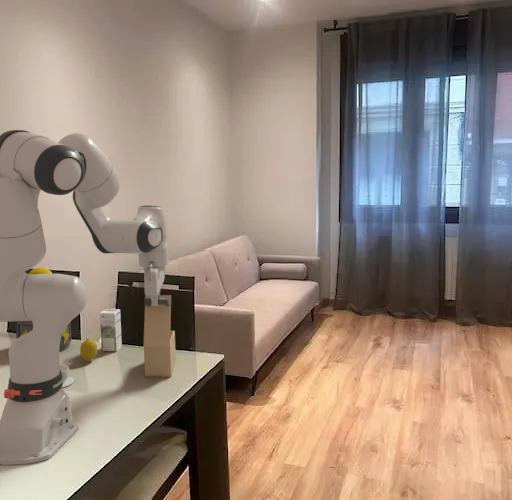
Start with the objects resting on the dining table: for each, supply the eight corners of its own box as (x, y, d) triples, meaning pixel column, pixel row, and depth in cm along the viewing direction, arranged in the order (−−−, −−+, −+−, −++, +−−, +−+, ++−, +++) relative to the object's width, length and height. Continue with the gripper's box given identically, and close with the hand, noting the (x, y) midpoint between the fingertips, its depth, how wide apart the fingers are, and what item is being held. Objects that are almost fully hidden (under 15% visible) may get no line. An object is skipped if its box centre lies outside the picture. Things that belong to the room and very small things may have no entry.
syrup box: (122, 347, 188) (120, 308, 186) (116, 352, 182) (114, 312, 180) (107, 346, 189) (105, 308, 187) (101, 351, 183) (99, 312, 181)
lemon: (94, 364, 171) (93, 341, 169) (78, 364, 171) (77, 341, 170) (100, 358, 176) (99, 336, 175) (84, 358, 176) (82, 336, 175)
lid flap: (170, 346, 158) (168, 342, 152) (143, 346, 157) (140, 343, 152) (171, 295, 163) (169, 290, 158) (145, 296, 163) (142, 291, 157)
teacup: (62, 391, 149) (61, 376, 149) (31, 389, 151) (30, 374, 151) (80, 378, 159) (79, 364, 158) (51, 376, 161) (50, 362, 160)
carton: (171, 377, 159) (170, 346, 158) (145, 377, 159) (143, 346, 158) (175, 359, 175) (174, 330, 174) (152, 359, 175) (151, 331, 173)
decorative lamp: (82, 342, 194) (78, 264, 190) (48, 358, 176) (43, 273, 172) (41, 337, 200) (36, 261, 195) (4, 353, 182) (-2, 270, 178)
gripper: (160, 265, 144) (162, 312, 147) (167, 252, 164) (169, 294, 167) (137, 266, 144) (140, 313, 146) (147, 253, 164) (149, 295, 166)
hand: (156, 303), depth 157 cm, fingers open, 4 cm apart
